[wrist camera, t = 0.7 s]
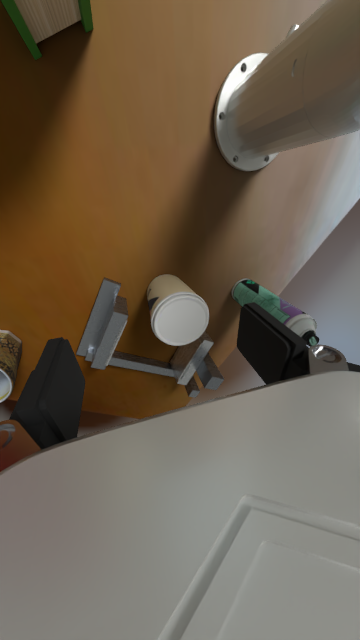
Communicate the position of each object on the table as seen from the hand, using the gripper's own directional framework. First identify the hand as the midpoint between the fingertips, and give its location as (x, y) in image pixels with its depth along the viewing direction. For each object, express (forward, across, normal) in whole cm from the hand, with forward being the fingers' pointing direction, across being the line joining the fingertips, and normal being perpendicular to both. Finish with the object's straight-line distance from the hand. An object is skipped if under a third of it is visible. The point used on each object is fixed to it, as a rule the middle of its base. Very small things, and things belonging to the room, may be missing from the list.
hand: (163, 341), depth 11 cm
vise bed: (+29, -1, +20) cm, 35 cm away
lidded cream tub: (+29, -5, +10) cm, 31 cm away
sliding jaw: (+29, -10, +25) cm, 39 cm away
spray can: (+29, -23, +13) cm, 39 cm away
